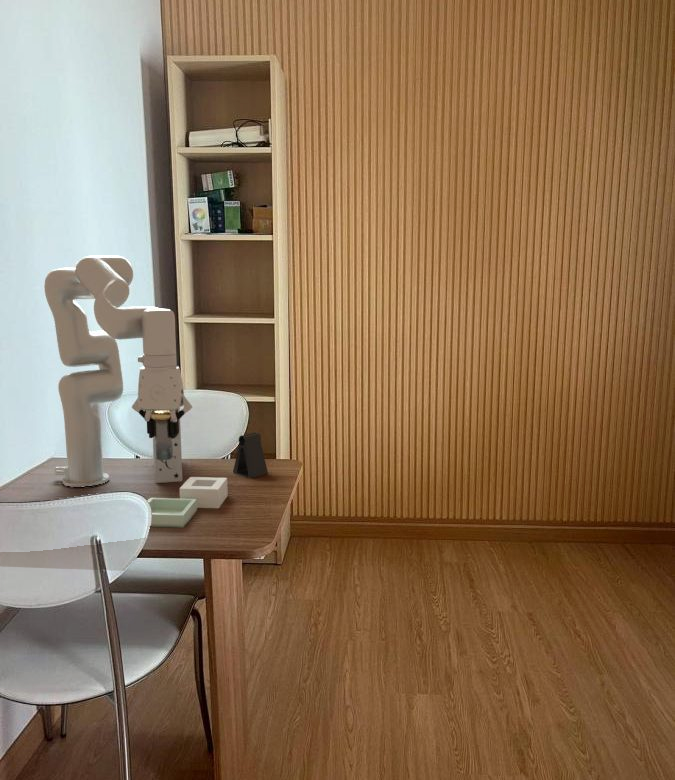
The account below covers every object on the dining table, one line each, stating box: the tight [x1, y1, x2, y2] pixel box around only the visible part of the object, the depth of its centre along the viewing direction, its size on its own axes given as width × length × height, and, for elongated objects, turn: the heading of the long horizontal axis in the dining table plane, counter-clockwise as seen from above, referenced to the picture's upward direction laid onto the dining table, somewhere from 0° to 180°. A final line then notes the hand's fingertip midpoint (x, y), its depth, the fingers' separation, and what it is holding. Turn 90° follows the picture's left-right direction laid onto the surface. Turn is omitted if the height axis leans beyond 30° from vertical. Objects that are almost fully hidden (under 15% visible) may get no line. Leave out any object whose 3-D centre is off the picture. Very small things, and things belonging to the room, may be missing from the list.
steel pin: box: [150, 410, 173, 460], centre depth 173 cm, size 6×6×11 cm
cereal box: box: [152, 407, 183, 484], centre depth 214 cm, size 22×8×25 cm, turn 15°
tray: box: [146, 497, 198, 528], centre depth 177 cm, size 12×12×3 cm
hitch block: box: [179, 476, 229, 509], centre depth 189 cm, size 10×10×5 cm
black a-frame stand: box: [232, 432, 269, 479], centre depth 213 cm, size 9×6×12 cm, turn 47°
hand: (163, 436), depth 174 cm, fingers closed on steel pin, 4 cm apart
